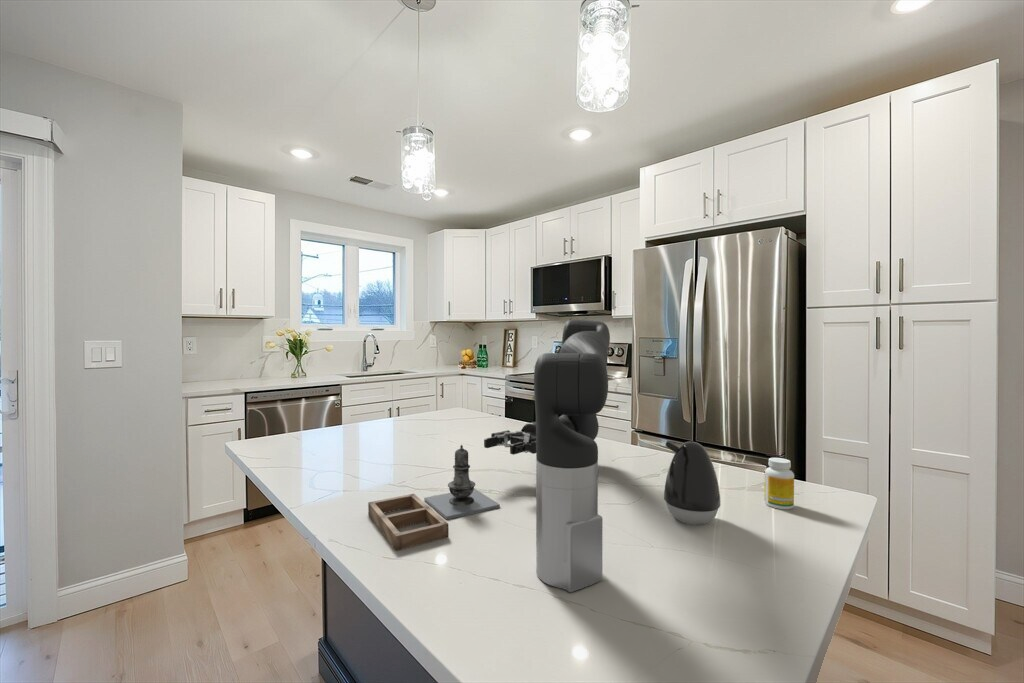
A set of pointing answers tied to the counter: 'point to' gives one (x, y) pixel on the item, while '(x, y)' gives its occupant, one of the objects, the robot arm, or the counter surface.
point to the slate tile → (453, 511)
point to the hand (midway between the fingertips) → (497, 446)
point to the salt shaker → (461, 480)
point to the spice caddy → (407, 521)
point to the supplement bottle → (779, 484)
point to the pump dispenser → (691, 485)
